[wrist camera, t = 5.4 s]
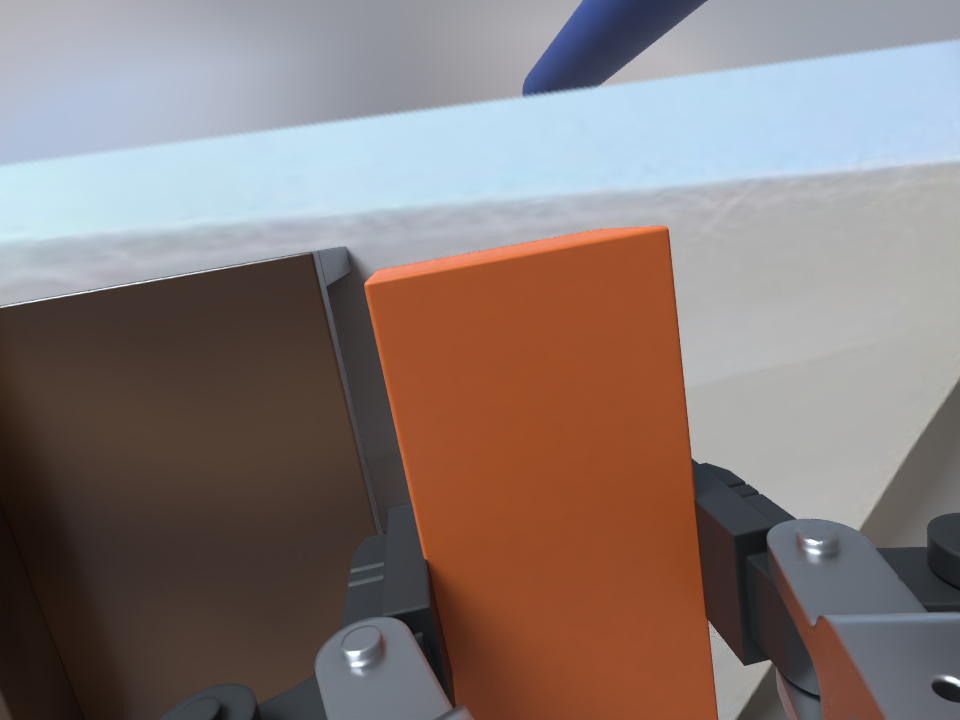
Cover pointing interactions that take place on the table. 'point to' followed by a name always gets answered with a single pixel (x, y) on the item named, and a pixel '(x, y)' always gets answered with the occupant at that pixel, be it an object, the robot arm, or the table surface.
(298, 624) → the shelf
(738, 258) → the table surface
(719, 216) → the table surface
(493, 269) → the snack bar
